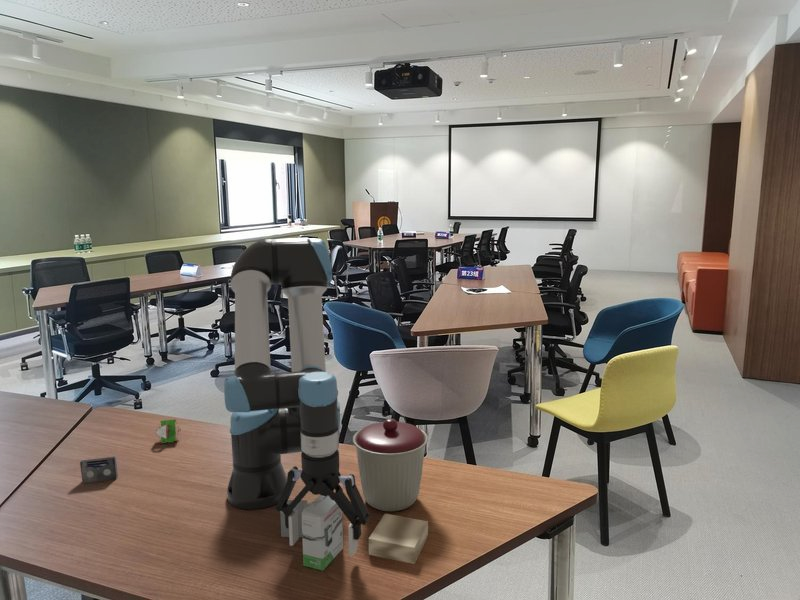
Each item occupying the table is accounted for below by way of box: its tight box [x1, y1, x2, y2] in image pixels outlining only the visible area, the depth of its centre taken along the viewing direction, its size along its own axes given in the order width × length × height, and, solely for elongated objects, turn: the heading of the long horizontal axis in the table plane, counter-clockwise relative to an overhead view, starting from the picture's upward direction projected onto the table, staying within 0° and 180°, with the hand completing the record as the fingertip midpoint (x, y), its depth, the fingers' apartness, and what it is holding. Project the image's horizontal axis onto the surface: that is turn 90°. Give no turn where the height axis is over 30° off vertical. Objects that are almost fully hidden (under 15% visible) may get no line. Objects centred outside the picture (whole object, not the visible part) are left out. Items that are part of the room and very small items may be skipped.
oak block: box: [368, 513, 429, 565], centre depth 121 cm, size 10×10×4 cm
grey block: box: [279, 499, 309, 538], centre depth 127 cm, size 5×5×6 cm
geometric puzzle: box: [155, 419, 181, 444], centre depth 174 cm, size 7×7×8 cm
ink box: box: [301, 494, 344, 571], centre depth 117 cm, size 9×5×12 cm, turn 156°
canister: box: [352, 418, 429, 512], centre depth 138 cm, size 18×18×21 cm
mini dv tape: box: [79, 456, 119, 484], centre depth 150 cm, size 8×2×6 cm, turn 105°
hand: (323, 547), depth 117 cm, fingers open, 12 cm apart
